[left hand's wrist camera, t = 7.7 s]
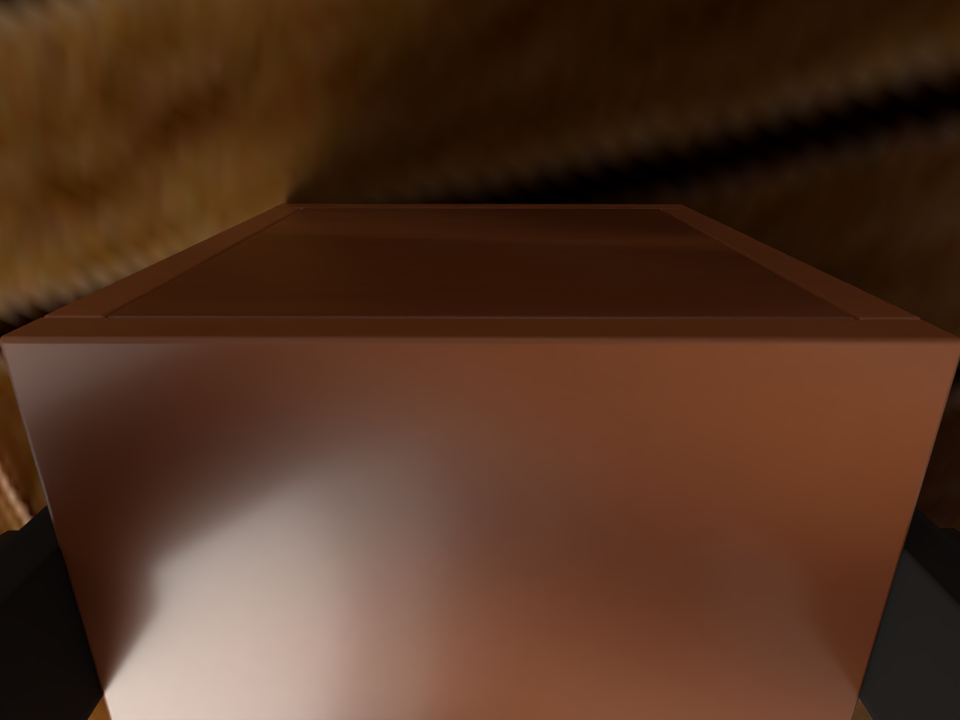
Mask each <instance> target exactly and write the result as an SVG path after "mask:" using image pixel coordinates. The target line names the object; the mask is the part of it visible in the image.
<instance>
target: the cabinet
mask: <svg viewBox="0 0 960 720" xmlns="http://www.w3.org/2000/svg"><path fill="white" fill-rule="evenodd" d="M0 346H1V350H2V353H3V356H4V360H5V363H6V367H7V370H8V373H9V377H10V380H11V384H12V387H13V391H14V394H15V397H16V401H17V404H18V408H19V411H20V414H21V418H22V421H23V425H24V428H25V431H26V435H27V438H28V442H29V445H30V448H31V452H32V455H33V459H34V462H35V466H36V469H37V472H38V476H39V479H40V483H41V486H42V489H43V493H44V496H45V500H46V503H47V506H48V510H49V513H50V517H51V520H52V523H53V527H54V530H55V534H56V537H57V541H58V544H59V547H60V551H61V554H62V558H63V561H64V564H65V568H66V571H67V575H68V578H69V581H70V585H71V588H72V592H73V595H74V598H75V602H76V605H77V609H78V612H79V616H80V619H81V622H82V626H83V629H84V633H85V636H86V639H87V643H88V646H89V650H90V653H91V656H92V660H93V663H94V667H95V670H96V673H97V677H98V680H99V684H100V687H101V691H102V694H103V697H104V701H105V704H106V708H107V711H108V714H109V718H110V720H852V718H853V714H854V711H855V708H856V704H857V701H858V697H859V694H860V691H861V687H862V684H863V681H864V677H865V674H866V671H867V667H868V664H869V661H870V657H871V654H872V651H873V647H874V644H875V640H876V637H877V634H878V630H879V627H880V624H881V620H882V617H883V614H884V610H885V607H886V604H887V600H888V597H889V594H890V590H891V587H892V584H893V580H894V577H895V573H896V570H897V567H898V563H899V560H900V557H901V553H902V550H903V547H904V543H905V540H906V537H907V533H908V530H909V527H910V523H911V520H912V516H913V513H914V510H915V506H916V503H917V500H918V496H919V493H920V490H921V486H922V483H923V480H924V476H925V473H926V470H927V466H928V463H929V459H930V456H931V453H932V449H933V446H934V443H935V439H936V436H937V433H938V429H939V426H940V423H941V419H942V416H943V413H944V409H945V406H946V403H947V399H948V396H949V392H950V389H951V386H952V382H953V379H954V376H955V372H956V369H957V366H958V362H959V359H960V338H959V337H957V336H955V335H953V334H951V333H949V332H946V331H944V330H942V329H940V328H938V327H936V326H934V325H932V324H930V323H928V322H926V321H923V320H920V318H919V317H917V316H915V315H913V314H911V313H909V312H907V311H905V310H903V309H901V308H898V307H896V306H894V305H892V304H890V303H888V302H886V301H884V300H882V299H880V298H877V297H875V296H873V295H871V294H869V293H867V292H865V291H863V290H861V289H859V288H856V287H854V286H852V285H850V284H848V283H846V282H844V281H842V280H840V279H837V278H835V277H833V276H831V275H829V274H827V273H825V272H823V271H821V270H819V269H816V268H814V267H812V266H810V265H808V264H806V263H804V262H802V261H800V260H797V259H795V258H793V257H791V256H789V255H787V254H785V253H783V252H781V251H779V250H776V249H774V248H772V247H770V246H768V245H766V244H764V243H762V242H760V241H757V240H755V239H753V238H751V237H749V236H747V235H745V234H743V233H741V232H739V231H736V230H734V229H732V228H730V227H728V226H726V225H724V224H722V223H720V222H717V221H715V220H713V219H711V218H709V217H707V216H705V215H703V214H701V213H699V212H696V211H694V210H692V209H690V208H688V207H686V206H684V205H682V204H280V205H278V206H276V207H274V208H273V209H270V210H268V211H266V212H264V213H262V214H260V215H258V216H255V217H253V218H251V219H249V220H247V221H245V222H243V223H241V224H238V225H236V226H234V227H232V228H230V229H228V230H226V231H224V232H221V233H219V234H217V235H215V236H213V237H211V238H209V239H207V240H204V241H202V242H200V243H198V244H196V245H194V246H192V247H190V248H187V249H185V250H183V251H181V252H179V253H177V254H175V255H173V256H170V257H168V258H166V259H164V260H162V261H160V262H158V263H156V264H153V265H151V266H149V267H147V268H145V269H143V270H141V271H139V272H136V273H134V274H132V275H130V276H128V277H126V278H124V279H122V280H119V281H117V282H115V283H113V284H111V285H109V286H107V287H105V288H102V289H100V290H98V291H96V292H94V293H92V294H90V295H88V296H85V297H83V298H81V299H79V300H77V301H75V302H73V303H71V304H68V305H66V306H64V307H62V308H60V309H58V310H56V311H54V312H51V313H49V314H47V315H45V317H44V318H40V319H38V320H35V321H33V322H31V323H29V324H27V325H25V326H23V327H21V328H18V329H16V330H14V331H12V332H10V333H8V334H6V335H4V336H2V337H1V338H0Z"/></svg>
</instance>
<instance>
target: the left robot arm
mask: <svg viewBox="0 0 960 720" xmlns="http://www.w3.org/2000/svg"><path fill="white" fill-rule="evenodd" d="M102 696H103V694H102V691H101V687H100V684H99V680H98V677H97V673H96V670H95V667H94V663H93V660H92V656H91V653H90V650H89V646H88V643H87V639H86V636H85V633H84V629H83V626H82V622H81V619H80V616H79V612H78V609H77V605H76V602H75V598H74V595H73V592H72V588H71V585H70V581H69V578H68V575H67V571H66V568H65V564H64V561H63V558H62V554H61V551H60V547H59V544H58V541H57V537H56V534H55V530H54V527H53V523H52V520H51V517H50V513H49V510H48V506H46V507H44V508H43V509H42V510H41V511H40V512H39V513H38V514H37V515H36V516H34V517H33V518H32V519H31V520H30V521H29V522H28V523H27V524H26V525H25V526H23V527H22V528H21V529H20V530H19V531H7V532H5V533H3V534H1V535H0V720H87V719H88V718H89V716H90V715H91V713H92V712H93V710H94V709H95V707H96V705H97V704H98V702H99V701H100V699H101V698H102ZM859 698H860V700H861V701H862V703H863V704H864V706H865V707H866V709H867V710H868V712H869V714H870V715H871V717H872V718H873V720H960V532H959V531H957V530H955V529H953V528H939V527H937V526H936V525H935V524H934V523H933V522H932V521H931V520H930V519H929V518H927V517H926V516H925V515H924V514H923V513H922V512H921V511H920V510H919V509H918V508H916V507H915V510H914V513H913V516H912V520H911V523H910V527H909V530H908V533H907V537H906V540H905V543H904V547H903V550H902V553H901V557H900V560H899V563H898V567H897V570H896V573H895V577H894V580H893V584H892V587H891V590H890V594H889V597H888V600H887V604H886V607H885V610H884V614H883V617H882V620H881V624H880V627H879V630H878V634H877V637H876V640H875V644H874V647H873V651H872V654H871V657H870V661H869V664H868V667H867V671H866V674H865V677H864V681H863V684H862V687H861V691H860V694H859Z"/></svg>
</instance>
